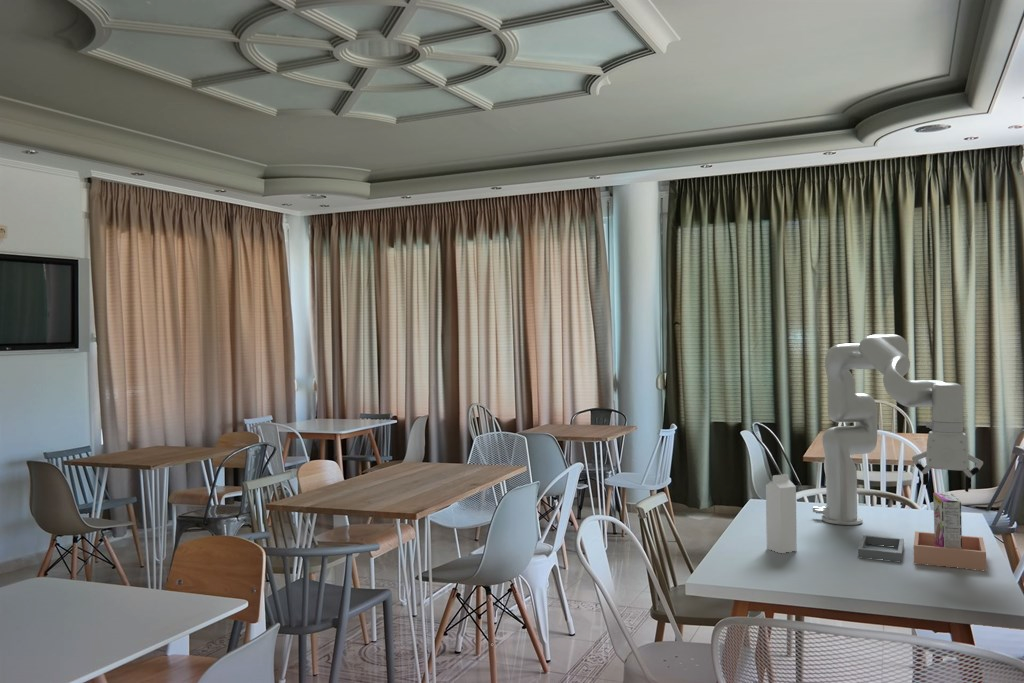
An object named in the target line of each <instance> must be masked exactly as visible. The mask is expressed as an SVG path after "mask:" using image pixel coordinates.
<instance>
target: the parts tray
mask: <svg viewBox="0 0 1024 683" xmlns="http://www.w3.org/2000/svg"><path fill="white" fill-rule="evenodd" d="M866 544H872V545H871V546H876V545H884V546H883V547H886V546H894V547H893V548H896V547H898V548H897V551H891V550H880V549H872V548H870V549H869V548H866V547H865V546H867V545H866ZM904 544H905V539H904V538H898V537H897V538H896V537H889V536H887V537H886V536H877V535H867V534H866V535H865V534H863V535H862V537H861V539H860V542H859V545H858V548H857V558H858V557H862V558H861V559H865V558H872V559H871V560H874V559H883V560H882V561H884V560H890V561H889V562H893V561H900V562H899V563H902V562H903V555H904V550H905V549H904V548H905V546H904ZM903 549H904V550H903Z"/></svg>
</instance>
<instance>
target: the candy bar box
mask: <svg viewBox="0 0 1024 683" xmlns="http://www.w3.org/2000/svg"><path fill="white" fill-rule="evenodd" d="M932 494H933V522H934V523H933V528H934V529H933V530H934V532H933V533H934V539H935V547H945V548H955V549H962V536H963V534H962V531H963V530H962V526H963V525H962V501H961V500H960V499H959V498H957V497H956V496H955V495H954V494H953V493H952V492H951V493H950V492H933V493H932Z"/></svg>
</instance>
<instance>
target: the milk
mask: <svg viewBox="0 0 1024 683" xmlns="http://www.w3.org/2000/svg"><path fill="white" fill-rule="evenodd" d="M765 510H766V511H765V512H766V513H765V515H766V518H765V521H766V524H765V525H766V532H765V533H766V549H767V550H769V551H771V550H772V552H774V551H775V553H777V552H778V553H777V554H780V553H782V554H787V553H786V552H789V553H793V552H792V551H795V552H797V551H798V548H797V545H798V544H797V542H798V541H797V486H796V485H795V484H794V483H793V481H791V480H790V476H789V473H783V474H775V475H772V480H771V481H770V482H768V483H767V484H765Z"/></svg>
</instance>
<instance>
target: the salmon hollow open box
mask: <svg viewBox="0 0 1024 683" xmlns="http://www.w3.org/2000/svg"><path fill="white" fill-rule="evenodd" d="M913 539H914V540H913V564H914V563H917V564H916V565H921V564H926V565H925V566H931V565H937V566H936V567H940V566H946V567H945V568H950V567H958V568H957V569H959V568H967V569H966V570H968V569H976V570H975V571H978V570H984V571H983V572H987V551H986V545H985V541H984V537H982V536H972V535H971V536H969V535H962V549H955V548H945V547H935V539H934V532H926V531H914V538H913ZM927 564H928V565H927ZM947 566H948V567H947Z"/></svg>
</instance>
